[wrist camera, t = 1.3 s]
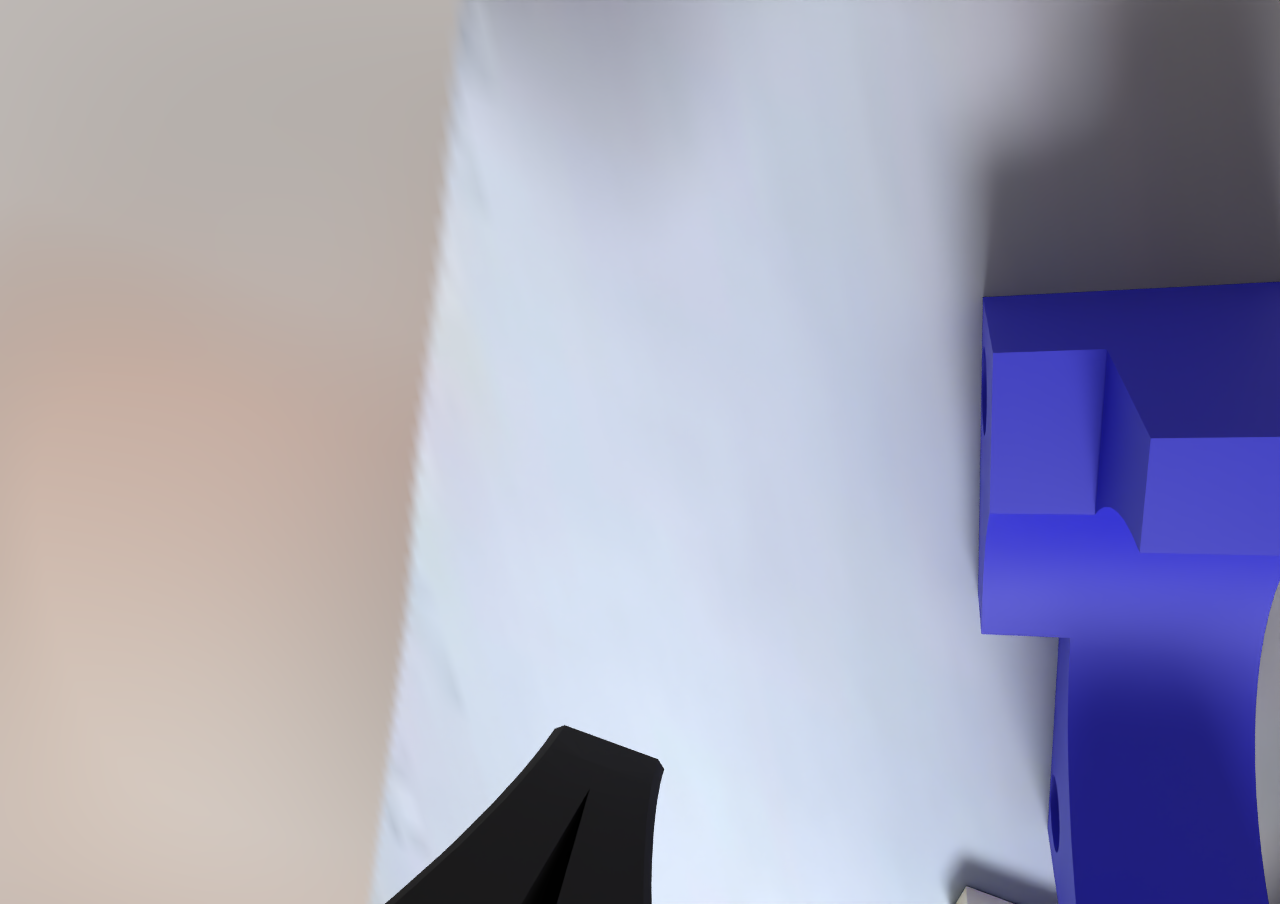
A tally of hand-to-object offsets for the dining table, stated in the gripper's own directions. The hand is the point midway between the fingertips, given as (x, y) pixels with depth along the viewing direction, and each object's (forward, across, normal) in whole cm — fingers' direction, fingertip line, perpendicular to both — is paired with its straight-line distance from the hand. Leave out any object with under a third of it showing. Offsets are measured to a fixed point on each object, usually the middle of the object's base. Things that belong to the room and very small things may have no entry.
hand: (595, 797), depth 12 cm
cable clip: (+9, -8, 0) cm, 12 cm away
